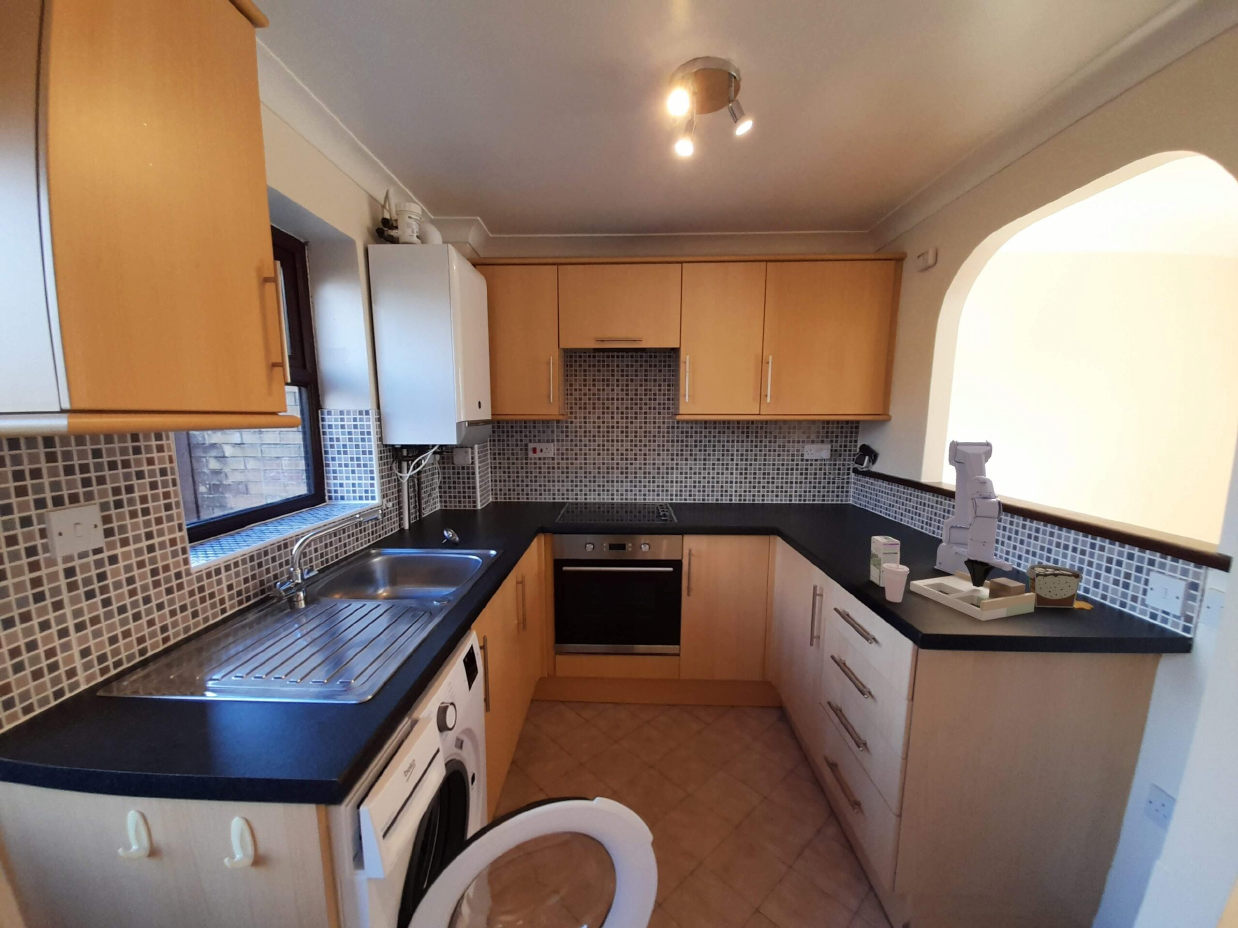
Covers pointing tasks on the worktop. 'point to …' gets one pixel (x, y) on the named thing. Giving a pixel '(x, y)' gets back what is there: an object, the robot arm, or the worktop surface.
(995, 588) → the walnut block
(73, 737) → the worktop surface
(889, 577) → the smoothie
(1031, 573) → the food container
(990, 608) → the trap deck
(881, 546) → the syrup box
